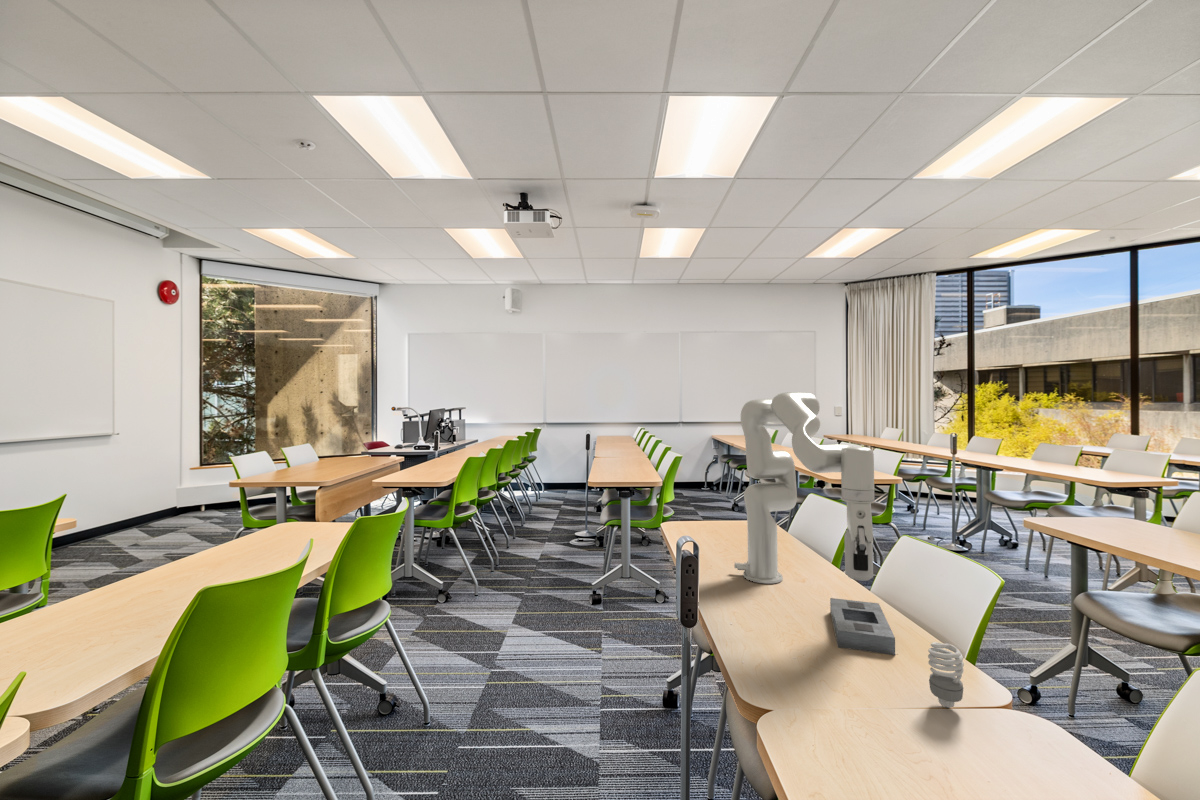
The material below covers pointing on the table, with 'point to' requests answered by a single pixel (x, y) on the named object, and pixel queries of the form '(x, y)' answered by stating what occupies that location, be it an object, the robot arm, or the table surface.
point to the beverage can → (849, 560)
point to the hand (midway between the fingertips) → (858, 565)
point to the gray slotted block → (861, 626)
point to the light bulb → (946, 674)
